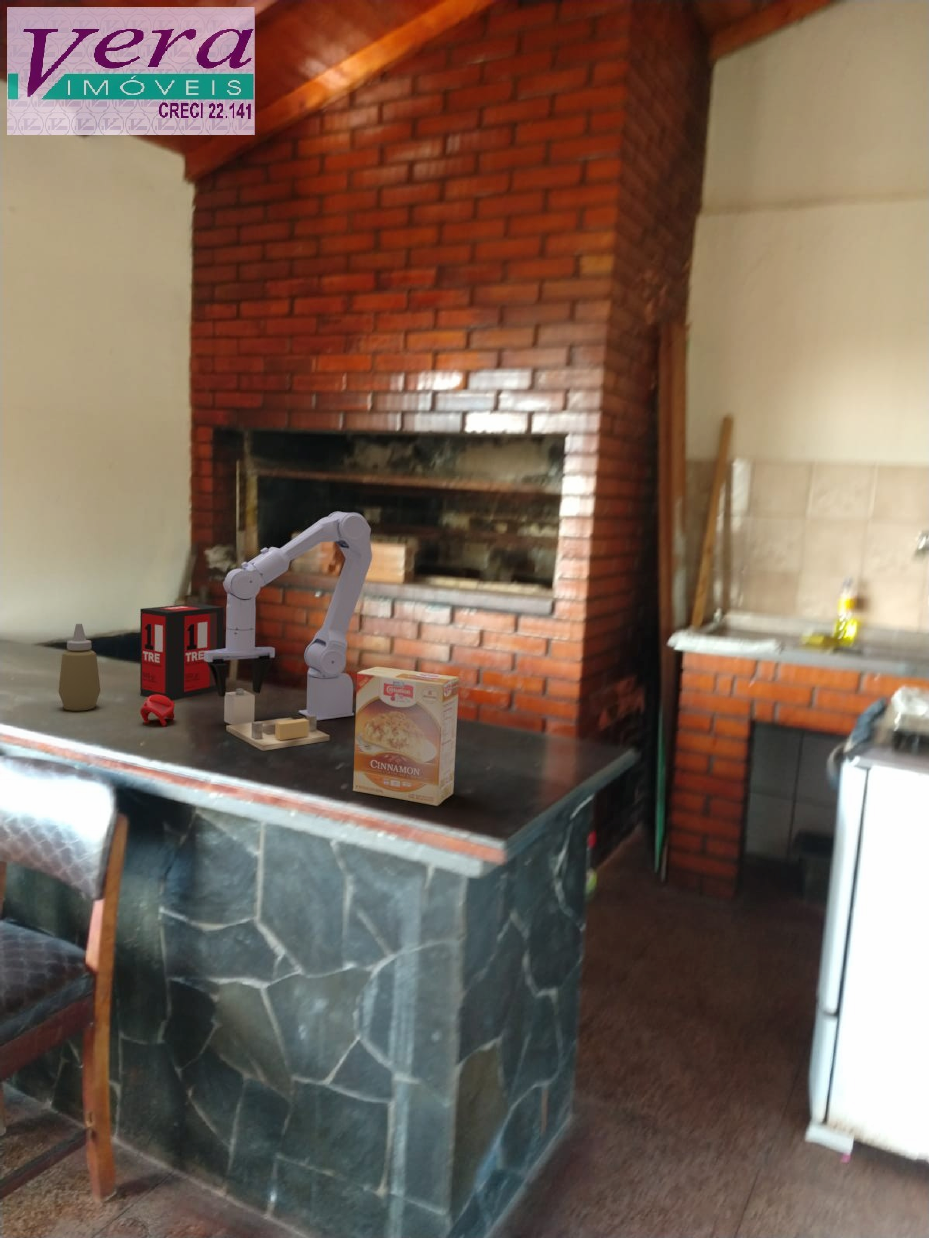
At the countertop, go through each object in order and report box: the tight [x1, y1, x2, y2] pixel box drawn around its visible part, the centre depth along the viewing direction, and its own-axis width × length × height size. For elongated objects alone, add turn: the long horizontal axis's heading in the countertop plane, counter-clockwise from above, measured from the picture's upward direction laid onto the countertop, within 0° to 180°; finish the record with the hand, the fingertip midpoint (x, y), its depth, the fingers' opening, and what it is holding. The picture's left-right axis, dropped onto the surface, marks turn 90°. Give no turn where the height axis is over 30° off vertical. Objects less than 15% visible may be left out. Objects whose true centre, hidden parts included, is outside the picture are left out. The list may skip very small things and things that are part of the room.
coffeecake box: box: [352, 666, 460, 807], centre depth 136 cm, size 15×7×20 cm, turn 69°
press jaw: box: [275, 718, 309, 740], centre depth 161 cm, size 6×2×3 cm, turn 129°
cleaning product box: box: [139, 603, 225, 702], centre depth 197 cm, size 16×9×20 cm, turn 150°
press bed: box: [225, 714, 330, 752], centre depth 166 cm, size 14×16×4 cm
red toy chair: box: [140, 695, 175, 727], centre depth 171 cm, size 8×6×6 cm
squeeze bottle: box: [58, 623, 101, 712], centre depth 179 cm, size 8×8×18 cm
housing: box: [223, 687, 256, 725], centre depth 175 cm, size 4×4×7 cm
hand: (239, 693), depth 174 cm, fingers open, 7 cm apart
